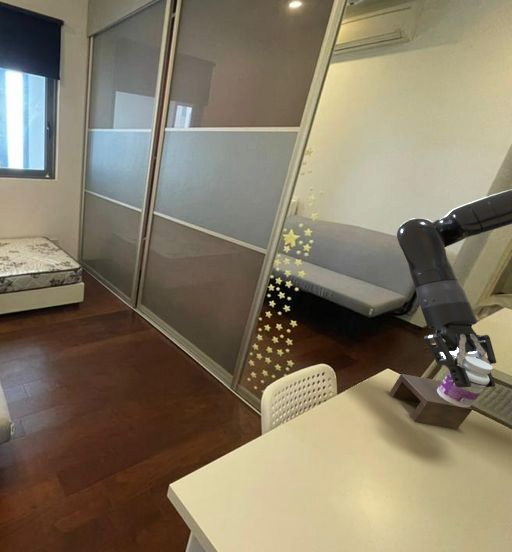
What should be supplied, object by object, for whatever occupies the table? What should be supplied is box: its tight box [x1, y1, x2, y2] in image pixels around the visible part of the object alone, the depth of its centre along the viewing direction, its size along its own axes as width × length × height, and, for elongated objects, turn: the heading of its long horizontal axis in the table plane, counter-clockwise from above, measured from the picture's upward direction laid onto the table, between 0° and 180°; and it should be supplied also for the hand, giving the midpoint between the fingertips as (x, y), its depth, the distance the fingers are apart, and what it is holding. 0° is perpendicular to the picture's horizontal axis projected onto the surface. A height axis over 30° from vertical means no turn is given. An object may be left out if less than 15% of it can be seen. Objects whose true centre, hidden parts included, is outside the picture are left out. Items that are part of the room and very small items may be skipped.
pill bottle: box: [437, 356, 494, 407], centre depth 65 cm, size 5×5×10 cm
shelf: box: [389, 373, 474, 431], centre depth 83 cm, size 10×10×7 cm
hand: (476, 386), depth 64 cm, fingers closed on pill bottle, 5 cm apart
